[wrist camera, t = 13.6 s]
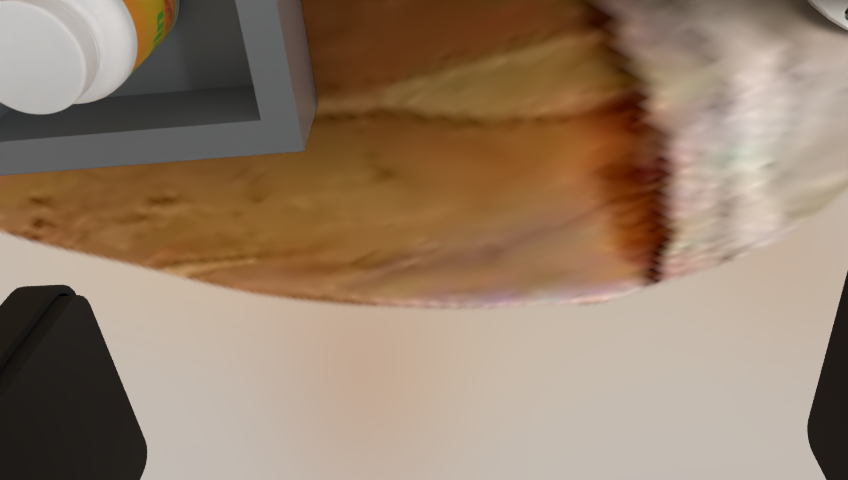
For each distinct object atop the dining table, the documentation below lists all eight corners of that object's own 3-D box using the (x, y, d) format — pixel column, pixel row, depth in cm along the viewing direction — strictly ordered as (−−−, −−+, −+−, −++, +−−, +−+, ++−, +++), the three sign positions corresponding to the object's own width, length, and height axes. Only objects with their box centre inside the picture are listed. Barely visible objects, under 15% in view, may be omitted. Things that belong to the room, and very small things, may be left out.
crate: (267, -196, 30) (240, -190, 26) (318, 103, 37) (304, 151, 33) (-113, -159, 31) (-207, -146, 26) (6, 129, 38) (-51, 179, 33)
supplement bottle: (147, 71, 35) (65, 162, 27) (38, 0, 33) (-85, 73, 25) (204, -21, 33) (134, 48, 25) (91, -103, 31) (-24, -59, 23)
